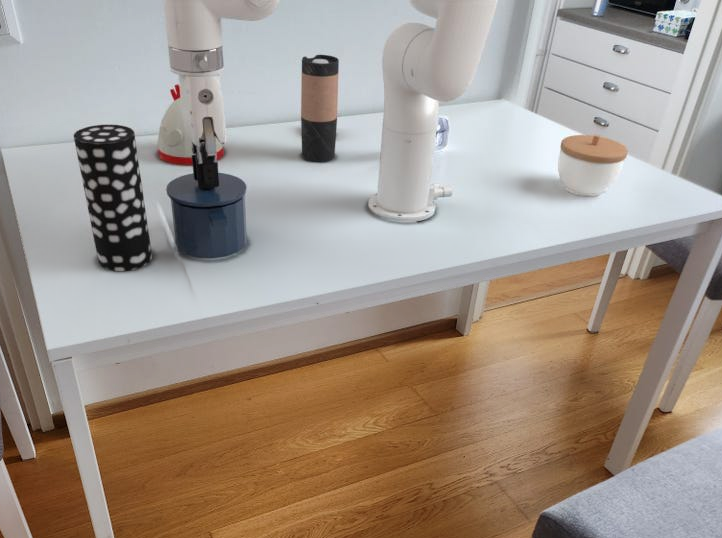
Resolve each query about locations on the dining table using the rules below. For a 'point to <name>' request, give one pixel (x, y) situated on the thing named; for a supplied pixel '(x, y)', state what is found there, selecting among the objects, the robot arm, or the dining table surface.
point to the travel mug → (319, 107)
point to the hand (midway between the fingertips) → (206, 182)
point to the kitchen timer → (177, 135)
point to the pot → (210, 229)
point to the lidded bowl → (590, 163)
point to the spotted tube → (114, 196)
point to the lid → (206, 190)
